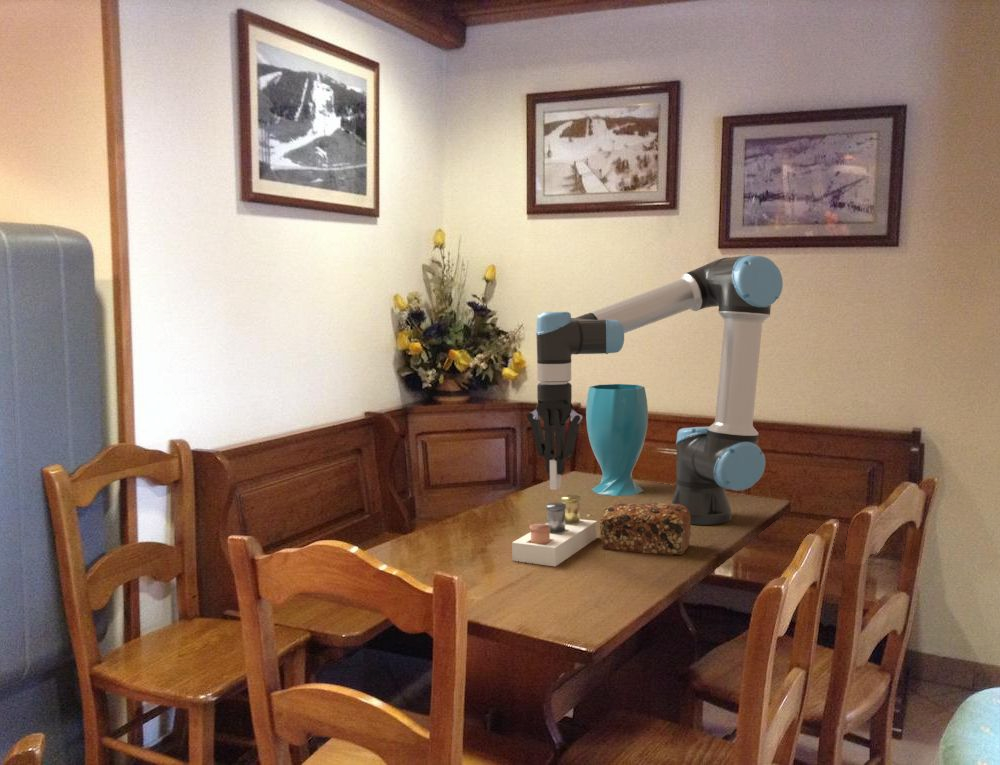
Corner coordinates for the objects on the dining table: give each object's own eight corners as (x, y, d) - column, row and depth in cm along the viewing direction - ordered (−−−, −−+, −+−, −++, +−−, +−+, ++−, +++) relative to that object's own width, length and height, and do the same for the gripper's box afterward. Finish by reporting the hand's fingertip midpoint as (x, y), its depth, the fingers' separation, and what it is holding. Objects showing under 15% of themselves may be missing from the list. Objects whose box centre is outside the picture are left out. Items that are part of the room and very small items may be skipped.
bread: (692, 545, 199) (692, 501, 198) (682, 558, 189) (682, 512, 188) (611, 537, 206) (611, 495, 205) (598, 550, 196) (597, 506, 195)
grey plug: (569, 529, 198) (569, 503, 197) (561, 533, 194) (561, 507, 193) (551, 527, 200) (551, 501, 199) (543, 531, 196) (542, 506, 195)
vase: (632, 499, 243) (631, 391, 241) (576, 492, 253) (575, 388, 250) (657, 487, 258) (656, 385, 255) (603, 481, 267) (602, 382, 264)
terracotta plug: (554, 551, 191) (553, 524, 190) (545, 556, 187) (545, 529, 186) (535, 548, 193) (535, 522, 192) (526, 554, 189) (526, 527, 188)
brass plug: (583, 520, 205) (583, 495, 205) (576, 524, 202) (576, 499, 201) (566, 518, 207) (565, 494, 207) (558, 522, 204) (558, 498, 203)
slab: (597, 537, 206) (596, 520, 205) (555, 566, 184) (555, 547, 184) (557, 533, 210) (557, 516, 210) (512, 560, 189) (512, 542, 189)
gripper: (588, 381, 194) (589, 487, 196) (534, 379, 200) (536, 482, 202) (575, 384, 187) (576, 494, 190) (520, 383, 193) (521, 489, 196)
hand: (555, 488), depth 196 cm, fingers closed
